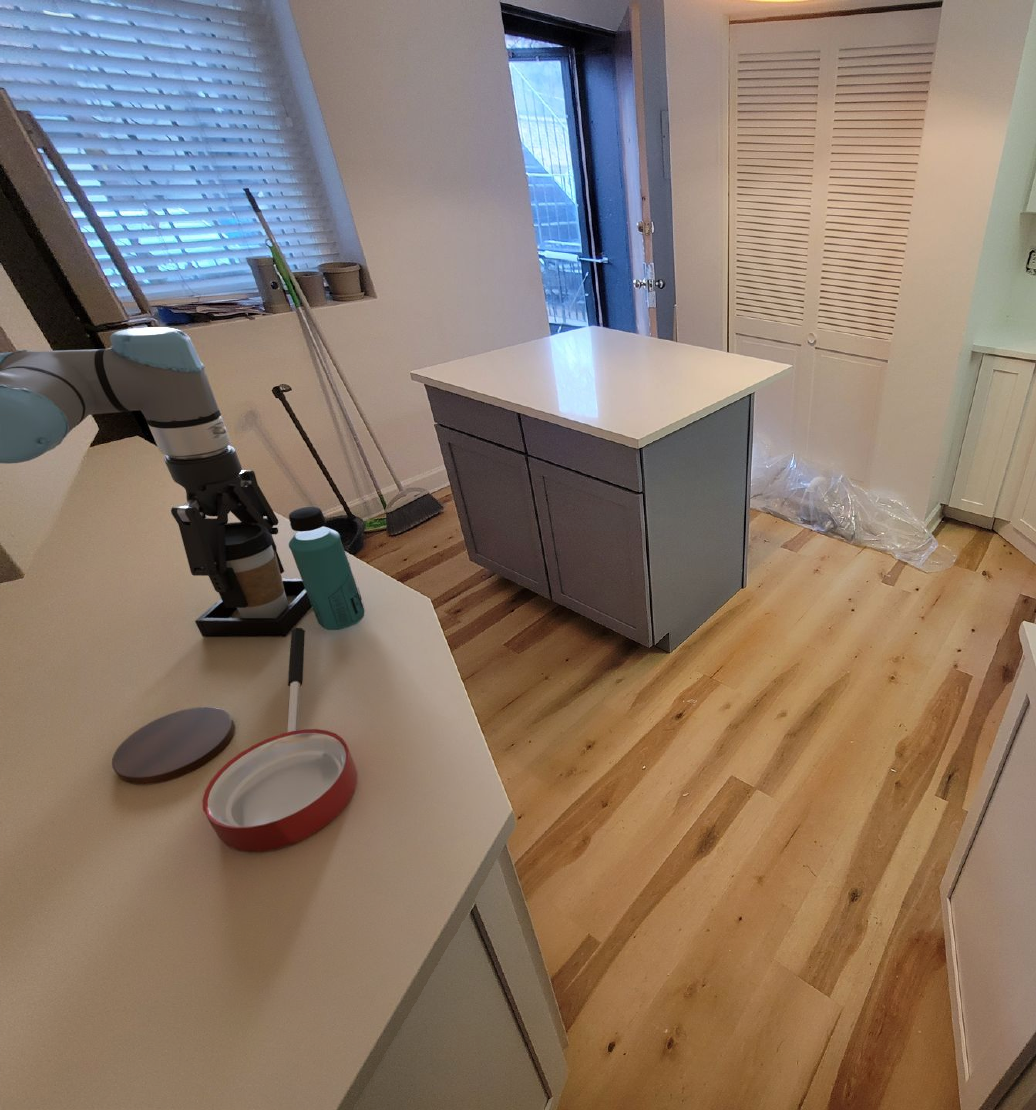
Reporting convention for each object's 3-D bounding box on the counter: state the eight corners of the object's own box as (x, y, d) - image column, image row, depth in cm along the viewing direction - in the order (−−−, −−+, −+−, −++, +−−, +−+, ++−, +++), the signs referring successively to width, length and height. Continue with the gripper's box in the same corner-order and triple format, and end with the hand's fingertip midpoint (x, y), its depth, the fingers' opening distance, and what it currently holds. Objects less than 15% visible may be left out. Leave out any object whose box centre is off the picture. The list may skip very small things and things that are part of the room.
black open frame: (202, 637, 90) (194, 621, 89) (250, 593, 100) (244, 578, 99) (285, 637, 91) (278, 621, 90) (324, 593, 101) (319, 578, 100)
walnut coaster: (89, 785, 68) (84, 778, 67) (162, 713, 77) (158, 707, 77) (195, 783, 69) (191, 776, 68) (254, 712, 78) (251, 706, 78)
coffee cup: (245, 602, 98) (209, 520, 90) (305, 596, 100) (275, 515, 93) (224, 633, 91) (184, 547, 83) (289, 626, 93) (256, 542, 86)
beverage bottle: (366, 634, 93) (328, 518, 83) (315, 642, 91) (271, 524, 80) (371, 610, 98) (336, 498, 88) (323, 617, 96) (282, 503, 86)
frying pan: (231, 683, 82) (214, 646, 79) (342, 653, 89) (330, 618, 86) (213, 877, 60) (187, 837, 57) (364, 819, 66) (348, 780, 63)
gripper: (170, 482, 73) (238, 631, 84) (274, 425, 91) (318, 553, 103) (102, 481, 72) (180, 631, 84) (221, 423, 91) (271, 553, 102)
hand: (256, 588), depth 93 cm, fingers open, 9 cm apart
